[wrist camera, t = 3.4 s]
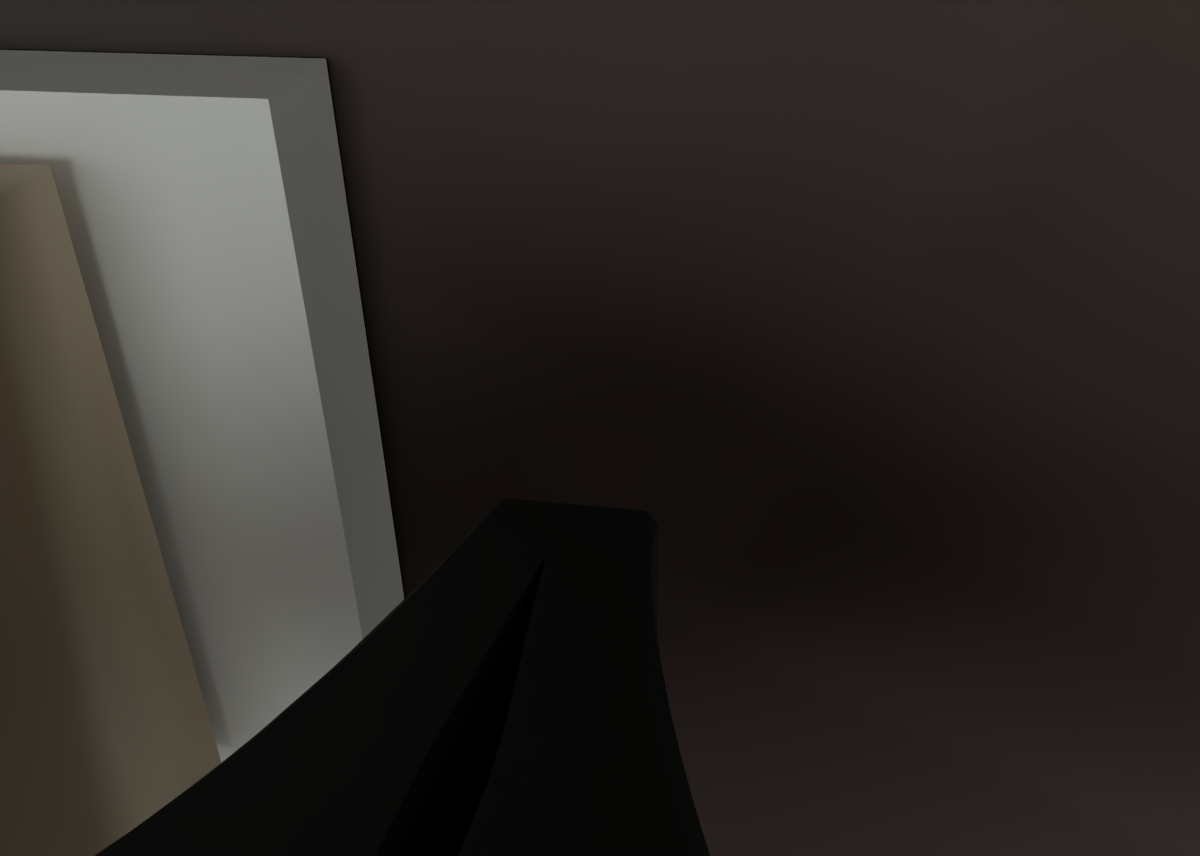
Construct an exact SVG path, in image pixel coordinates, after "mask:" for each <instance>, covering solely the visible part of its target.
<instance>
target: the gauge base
mask: <svg viewBox="0 0 1200 856" xmlns="http://www.w3.org/2000/svg"><path fill="white" fill-rule="evenodd" d="M0 164H17V165H40V166H50V167H51V171H52V174H53V178H54V181H55V185H56V188H57V192H58V195H59V199H60V202H61V206H62V209H63V213H64V216H65V220H66V223H67V227H68V230H69V234H70V237H71V240H72V244H73V247H74V251H75V254H76V258H77V261H78V265H79V268H80V272H81V275H82V279H83V282H84V286H85V289H86V293H87V296H88V300H89V303H90V307H91V310H92V314H93V317H94V321H95V324H96V327H97V331H98V334H99V338H100V341H101V345H102V348H103V352H104V355H105V359H106V362H107V366H108V369H109V373H110V376H111V380H112V383H113V387H114V390H115V394H116V397H117V401H118V404H119V408H120V411H121V414H122V418H123V421H124V425H125V428H126V432H127V435H128V439H129V442H130V446H131V449H132V453H133V456H134V460H135V463H136V467H137V470H138V474H139V477H140V481H141V484H142V488H143V491H144V495H145V498H146V501H147V505H148V508H149V512H150V515H151V519H152V522H153V526H154V529H155V533H156V536H157V540H158V543H159V547H160V550H161V554H162V557H163V561H164V564H165V568H166V571H167V575H168V578H169V582H170V585H171V588H172V592H173V595H174V599H175V602H176V606H177V609H178V613H179V616H180V620H181V623H182V627H183V630H184V634H185V637H186V641H187V644H188V648H189V651H190V655H191V658H192V662H193V665H194V669H195V672H196V675H197V679H198V682H199V686H200V689H201V693H202V696H203V700H204V703H205V707H206V710H207V714H208V717H209V721H210V724H211V728H212V731H213V735H214V738H215V742H216V745H217V749H218V752H219V756H220V759H221V762H223V761H224V760H225V759H227V758H228V757H229V756H230V755H232V754H233V753H234V752H235V751H236V750H238V749H239V748H240V747H241V746H243V745H244V744H245V743H246V742H248V741H249V740H250V739H251V738H252V737H254V736H255V735H256V734H257V733H258V732H260V731H261V730H262V729H263V728H264V727H265V726H267V725H268V724H269V723H270V722H271V721H272V720H273V719H275V718H276V717H277V716H278V715H279V714H280V713H281V712H283V711H284V710H285V709H286V708H287V707H288V706H289V705H291V704H292V703H293V702H294V701H295V700H296V699H298V698H299V697H300V696H301V695H302V694H303V693H304V692H306V691H307V690H308V689H309V688H310V687H311V686H312V685H314V684H315V683H316V682H317V681H318V680H319V679H320V678H322V677H323V676H324V675H325V674H326V673H327V672H328V671H330V670H331V669H332V668H333V667H334V666H335V665H336V664H337V663H338V662H339V661H340V660H342V659H343V658H344V657H345V656H346V655H347V654H348V653H349V652H350V651H351V650H352V649H353V648H354V647H355V646H356V645H357V644H358V643H359V642H360V641H361V640H362V639H364V638H365V637H366V636H367V635H368V634H369V633H370V632H371V631H372V630H373V629H374V628H375V627H376V626H377V625H378V624H379V623H380V622H381V621H382V620H383V619H384V618H385V617H386V616H387V615H388V614H389V613H390V612H391V611H392V610H393V609H394V608H396V607H397V606H398V605H399V604H400V603H401V602H402V601H403V600H404V593H403V586H402V579H401V573H400V566H399V559H398V552H397V545H396V538H395V531H394V524H393V517H392V511H391V504H390V497H389V490H388V483H387V476H386V469H385V462H384V455H383V449H382V442H381V435H380V428H379V421H378V414H377V407H376V400H375V393H374V386H373V380H372V373H371V366H370V359H369V352H368V345H367V338H366V331H365V324H364V318H363V311H362V304H361V297H360V290H359V283H358V276H357V269H356V262H355V256H354V249H353V242H352V235H351V228H350V221H349V214H348V207H347V200H346V193H345V187H344V180H343V173H342V166H341V159H340V152H339V145H338V138H337V131H336V125H335V118H334V111H333V104H332V97H331V90H330V83H329V76H328V69H327V63H326V58H288V57H250V56H212V55H175V54H137V53H99V52H61V51H23V50H0Z"/></svg>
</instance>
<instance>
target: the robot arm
mask: <svg viewBox="0 0 1200 856" xmlns="http://www.w3.org/2000/svg"><path fill="white" fill-rule="evenodd" d="M657 569H658V523H657V522H656V521H655V520H654V519H653V518H652V517H651V516H650V515H649V514H648V513H647V512H646V511H644V510H633V509H621V508H610V507H598V506H586V505H575V504H563V503H552V502H540V501H529V500H517V499H506V498H503V499H502V500H501V501H500V502H498V503H497V504H496V505H495V506H493V507H492V508H491V509H490V510H489V511H488V512H487V513H486V514H485V515H484V516H483V517H482V518H481V520H480V521H479V522H478V523H477V524H476V525H475V526H474V527H473V528H472V529H471V530H470V531H469V532H468V533H467V534H466V535H465V537H464V538H463V539H462V540H461V541H460V542H459V543H458V544H457V545H456V546H455V547H454V548H453V549H452V550H451V551H450V552H449V554H448V555H447V556H446V557H445V558H444V559H443V560H442V561H441V562H440V563H439V564H438V565H437V566H436V567H435V568H434V569H433V570H432V571H431V572H430V573H429V574H428V575H427V576H426V577H425V578H424V579H423V580H422V581H421V582H420V583H419V585H418V586H417V587H416V588H415V589H414V590H413V591H412V592H411V593H410V594H409V595H408V596H407V597H406V598H405V599H404V600H403V601H402V602H401V603H400V604H399V605H398V606H397V607H396V608H394V609H393V610H392V611H391V612H390V613H389V614H388V615H387V616H386V617H385V618H384V619H383V620H382V621H381V622H380V623H379V624H378V625H377V626H376V627H375V628H374V629H373V630H372V631H371V632H370V633H369V634H368V635H367V636H366V637H365V638H364V639H362V640H361V641H360V642H359V643H358V644H357V645H356V646H355V647H354V648H353V649H352V650H351V651H350V652H349V653H348V654H347V655H346V656H345V657H344V658H343V659H342V660H340V661H339V662H338V663H337V664H336V665H335V666H334V667H333V668H332V669H331V670H330V671H328V672H327V673H326V674H325V675H324V676H323V677H322V678H320V679H319V680H318V681H317V682H316V683H315V684H314V685H312V686H311V687H310V688H309V689H308V690H307V691H306V692H304V693H303V694H302V695H301V696H300V697H299V698H298V699H296V700H295V701H294V702H293V703H292V704H291V705H289V706H288V707H287V708H286V709H285V710H284V711H283V712H281V713H280V714H279V715H278V716H277V717H276V718H275V719H273V720H272V721H271V722H270V723H269V724H268V725H267V726H265V727H264V728H263V729H262V730H261V731H260V732H258V733H257V734H256V735H255V736H254V737H252V738H251V739H250V740H249V741H248V742H246V743H245V744H244V745H243V746H241V747H240V748H239V749H238V750H236V751H235V752H234V753H233V754H232V755H230V756H229V757H228V758H227V759H225V760H224V761H223V762H222V763H220V764H219V765H218V766H217V767H215V768H214V769H213V770H211V771H210V772H209V773H208V774H206V775H205V776H204V777H202V778H201V779H200V780H199V781H197V782H196V783H195V784H193V785H192V786H191V787H189V788H188V789H187V790H185V791H184V792H183V793H181V794H180V795H179V796H177V797H176V798H175V799H173V800H172V801H171V802H169V803H168V804H167V805H165V806H164V807H163V808H161V809H160V810H159V811H157V812H156V813H154V814H153V815H152V816H150V817H149V818H148V819H146V820H145V821H144V822H142V823H141V824H139V825H138V826H137V827H135V828H134V829H133V830H131V831H130V832H128V833H127V834H125V835H124V836H122V837H121V838H119V839H118V840H116V841H115V842H114V843H112V844H111V845H109V846H108V847H106V848H105V849H103V850H102V851H100V852H99V853H97V854H96V855H94V856H710V855H709V851H708V848H707V845H706V842H705V839H704V836H703V832H702V829H701V826H700V823H699V819H698V816H697V812H696V809H695V806H694V802H693V799H692V796H691V792H690V788H689V784H688V781H687V777H686V773H685V769H684V766H683V762H682V758H681V754H680V751H679V747H678V743H677V739H676V734H675V730H674V726H673V721H672V717H671V713H670V708H669V703H668V698H667V692H666V687H665V682H664V676H663V671H662V666H661V660H660V655H659V650H658V643H657Z"/></svg>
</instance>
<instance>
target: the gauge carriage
mask: <svg viewBox="0 0 1200 856" xmlns="http://www.w3.org/2000/svg"><path fill="white" fill-rule="evenodd" d="M220 763H222V762H221V759H220V756H219V752H218V749H217V745H216V742H215V738H214V735H213V731H212V728H211V724H210V721H209V717H208V714H207V710H206V707H205V703H204V700H203V696H202V693H201V689H200V686H199V682H198V679H197V675H196V672H195V669H194V665H193V662H192V658H191V655H190V651H189V648H188V644H187V641H186V637H185V634H184V630H183V627H182V623H181V620H180V616H179V613H178V609H177V606H176V602H175V599H174V595H173V592H172V588H171V585H170V582H169V578H168V575H167V571H166V568H165V564H164V561H163V557H162V554H161V550H160V547H159V543H158V540H157V536H156V533H155V529H154V526H153V522H152V519H151V515H150V512H149V508H148V505H147V501H146V498H145V495H144V491H143V488H142V484H141V481H140V477H139V474H138V470H137V467H136V463H135V460H134V456H133V453H132V449H131V446H130V442H129V439H128V435H127V432H126V428H125V425H124V421H123V418H122V414H121V411H120V408H119V404H118V401H117V397H116V394H115V390H114V387H113V383H112V380H111V376H110V373H109V369H108V366H107V362H106V359H105V355H104V352H103V348H102V345H101V341H100V338H99V334H98V331H97V327H96V324H95V321H94V317H93V314H92V310H91V307H90V303H89V300H88V296H87V293H86V289H85V286H84V282H83V279H82V275H81V272H80V268H79V265H78V261H77V258H76V254H75V251H74V247H73V244H72V240H71V237H70V234H69V230H68V227H67V223H66V220H65V216H64V213H63V209H62V206H61V202H60V199H59V195H58V192H57V188H56V185H55V181H54V178H53V174H52V171H51V167H50V166H40V165H17V164H0V856H94V855H96V854H97V853H99V852H100V851H102V850H103V849H105V848H106V847H108V846H109V845H111V844H112V843H114V842H115V841H116V840H118V839H119V838H121V837H122V836H124V835H125V834H127V833H128V832H130V831H131V830H133V829H134V828H135V827H137V826H138V825H139V824H141V823H142V822H144V821H145V820H146V819H148V818H149V817H150V816H152V815H153V814H154V813H156V812H157V811H159V810H160V809H161V808H163V807H164V806H165V805H167V804H168V803H169V802H171V801H172V800H173V799H175V798H176V797H177V796H179V795H180V794H181V793H183V792H184V791H185V790H187V789H188V788H189V787H191V786H192V785H193V784H195V783H196V782H197V781H199V780H200V779H201V778H202V777H204V776H205V775H206V774H208V773H209V772H210V771H211V770H213V769H214V768H215V767H217V766H218V765H219V764H220Z"/></svg>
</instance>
